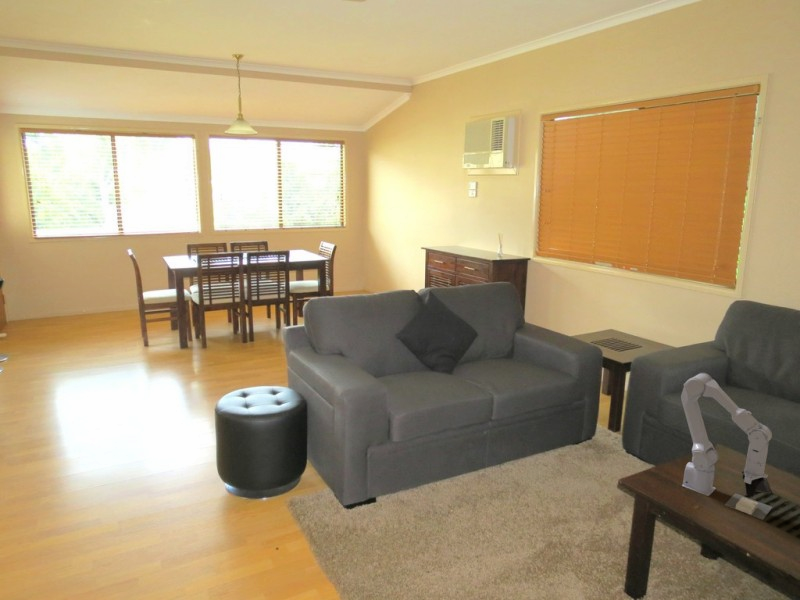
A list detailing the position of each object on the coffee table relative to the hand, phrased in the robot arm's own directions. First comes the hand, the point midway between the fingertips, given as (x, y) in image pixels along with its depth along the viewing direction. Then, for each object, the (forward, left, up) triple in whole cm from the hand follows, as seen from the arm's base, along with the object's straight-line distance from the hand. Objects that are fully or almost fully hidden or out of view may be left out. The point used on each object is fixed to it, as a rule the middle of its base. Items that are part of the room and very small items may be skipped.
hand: (750, 494), depth 199 cm
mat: (0, 0, -5) cm, 5 cm away
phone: (-3, +21, -6) cm, 22 cm away
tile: (0, +1, -3) cm, 4 cm away
